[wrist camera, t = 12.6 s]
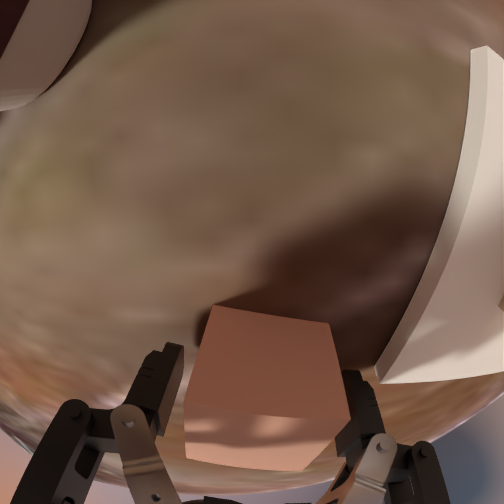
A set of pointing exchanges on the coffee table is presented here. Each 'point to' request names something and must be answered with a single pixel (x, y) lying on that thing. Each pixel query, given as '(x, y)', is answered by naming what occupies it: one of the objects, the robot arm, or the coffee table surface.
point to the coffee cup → (36, 45)
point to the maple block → (501, 304)
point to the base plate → (462, 256)
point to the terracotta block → (263, 392)
